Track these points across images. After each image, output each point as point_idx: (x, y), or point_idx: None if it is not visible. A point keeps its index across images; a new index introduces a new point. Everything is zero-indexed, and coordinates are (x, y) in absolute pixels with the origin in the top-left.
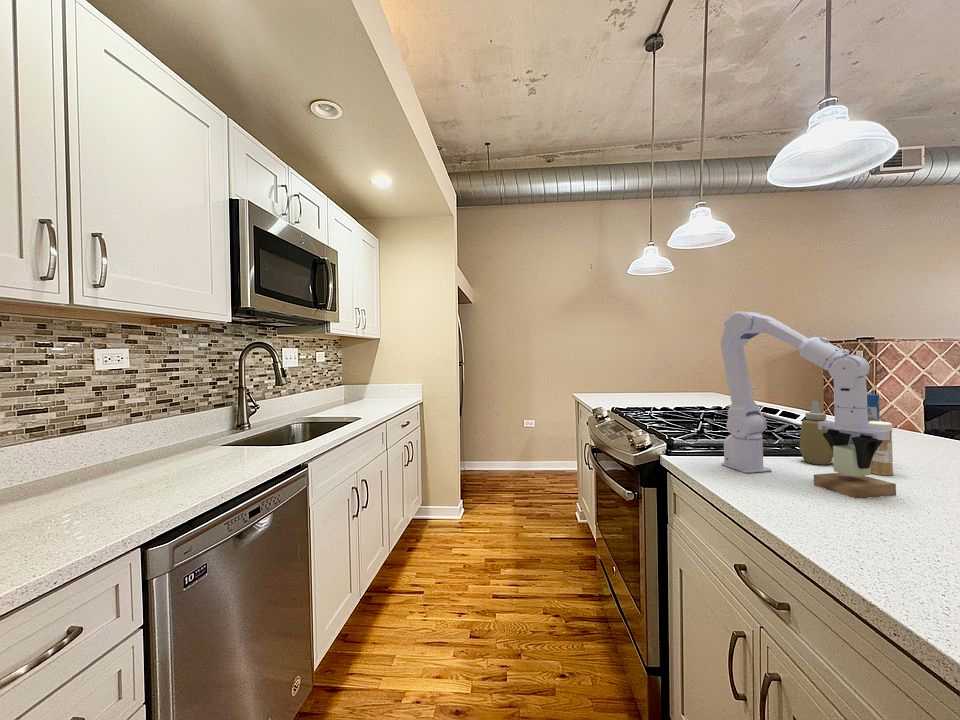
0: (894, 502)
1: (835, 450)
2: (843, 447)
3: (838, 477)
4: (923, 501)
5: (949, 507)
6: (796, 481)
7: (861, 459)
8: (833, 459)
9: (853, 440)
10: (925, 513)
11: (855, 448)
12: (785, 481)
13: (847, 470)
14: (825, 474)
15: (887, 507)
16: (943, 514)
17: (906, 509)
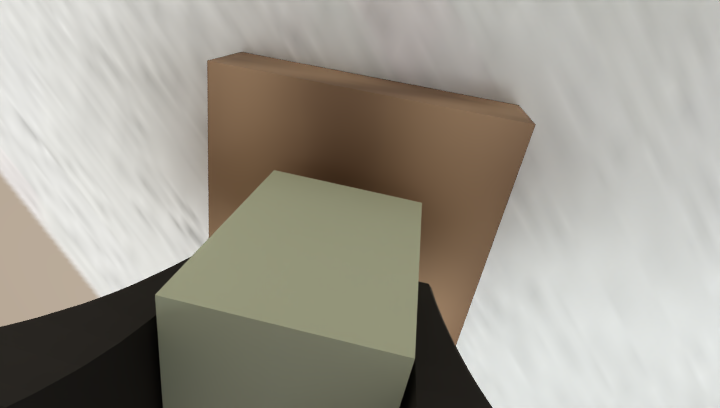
0: (159, 159)
1: (385, 311)
2: (299, 360)
3: (401, 196)
4: (151, 272)
5: (82, 269)
6: (637, 85)
7: (169, 268)
8: (419, 254)
9: (1, 389)
10: (21, 108)
11: (133, 331)
12: (696, 5)
13: (306, 193)
14: (489, 202)
15: (103, 42)
16: (10, 159)
17: (71, 94)
